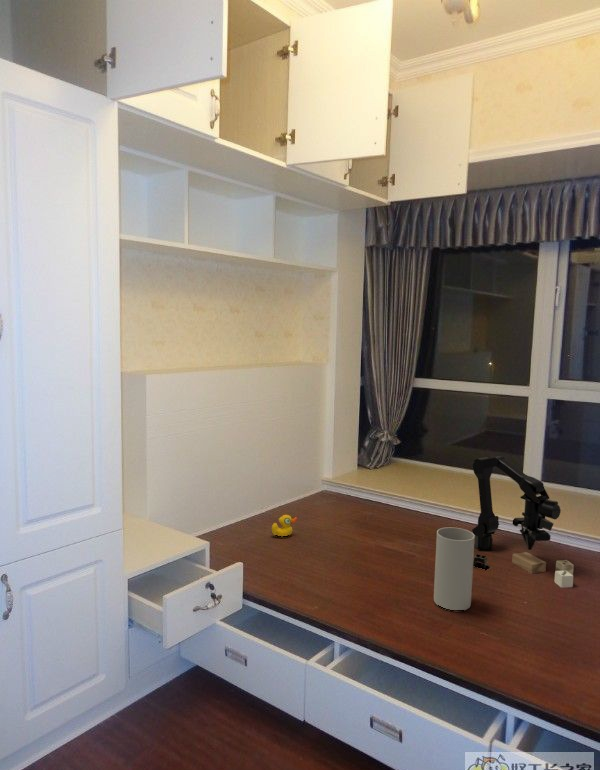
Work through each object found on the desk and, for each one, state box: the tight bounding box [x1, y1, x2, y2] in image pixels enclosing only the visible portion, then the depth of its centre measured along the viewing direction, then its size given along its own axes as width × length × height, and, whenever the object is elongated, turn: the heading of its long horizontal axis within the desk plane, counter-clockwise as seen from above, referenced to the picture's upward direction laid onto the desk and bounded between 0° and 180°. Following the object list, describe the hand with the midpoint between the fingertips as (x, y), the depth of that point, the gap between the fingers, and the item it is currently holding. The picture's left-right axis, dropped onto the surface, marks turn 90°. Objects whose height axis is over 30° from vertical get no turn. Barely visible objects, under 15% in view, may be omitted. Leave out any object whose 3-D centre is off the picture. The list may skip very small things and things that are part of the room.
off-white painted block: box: [554, 570, 574, 589], centre depth 215 cm, size 4×4×5 cm
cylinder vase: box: [433, 526, 475, 611], centre depth 197 cm, size 12×12×25 cm
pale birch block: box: [555, 559, 575, 576], centre depth 224 cm, size 4×4×5 cm
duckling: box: [271, 514, 298, 536], centre depth 256 cm, size 11×5×10 cm, turn 103°
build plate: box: [473, 553, 491, 571], centre depth 229 cm, size 12×7×5 cm, turn 54°
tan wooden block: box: [511, 551, 547, 575], centre depth 230 cm, size 7×11×4 cm, turn 20°
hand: (529, 549), depth 229 cm, fingers closed
